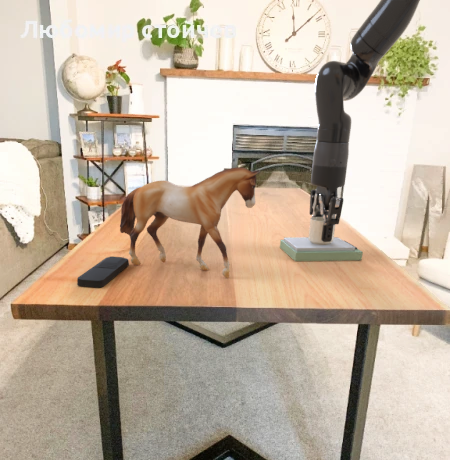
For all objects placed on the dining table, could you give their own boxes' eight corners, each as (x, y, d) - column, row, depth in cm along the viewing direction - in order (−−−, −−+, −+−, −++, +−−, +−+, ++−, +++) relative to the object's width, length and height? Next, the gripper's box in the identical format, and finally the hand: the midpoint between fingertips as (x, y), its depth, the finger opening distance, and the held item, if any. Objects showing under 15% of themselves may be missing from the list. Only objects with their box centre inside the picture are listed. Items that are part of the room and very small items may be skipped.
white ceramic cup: (327, 239, 108) (330, 216, 106) (336, 245, 103) (339, 221, 101) (304, 239, 107) (307, 216, 105) (313, 245, 102) (315, 221, 100)
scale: (340, 247, 113) (341, 236, 112) (361, 260, 102) (363, 248, 101) (279, 247, 110) (280, 236, 109) (295, 261, 99) (296, 249, 98)
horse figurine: (256, 273, 90) (263, 168, 82) (243, 284, 83) (250, 171, 75) (124, 253, 100) (119, 158, 92) (103, 262, 93) (97, 159, 85)
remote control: (101, 291, 79) (130, 264, 92) (101, 281, 78) (129, 255, 91) (75, 288, 79) (107, 262, 93) (74, 279, 78) (107, 254, 92)
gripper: (360, 167, 92) (348, 245, 98) (333, 161, 105) (324, 231, 112) (326, 166, 91) (316, 246, 97) (303, 160, 104) (296, 231, 110)
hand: (321, 237), depth 104 cm, fingers closed on white ceramic cup, 5 cm apart
